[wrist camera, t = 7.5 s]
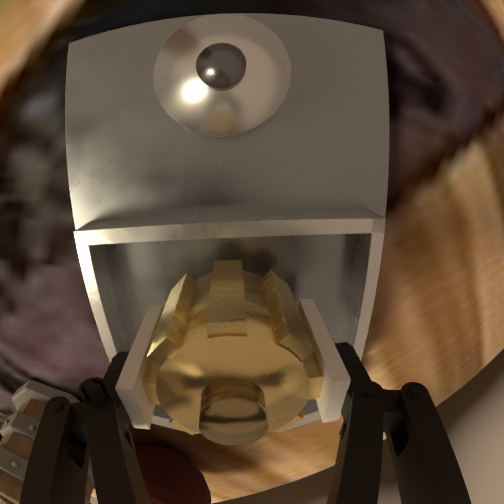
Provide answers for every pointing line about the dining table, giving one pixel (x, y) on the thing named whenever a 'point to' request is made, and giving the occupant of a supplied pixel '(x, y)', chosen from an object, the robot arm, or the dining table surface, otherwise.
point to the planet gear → (232, 356)
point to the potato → (171, 477)
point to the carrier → (229, 164)
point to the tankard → (26, 439)
